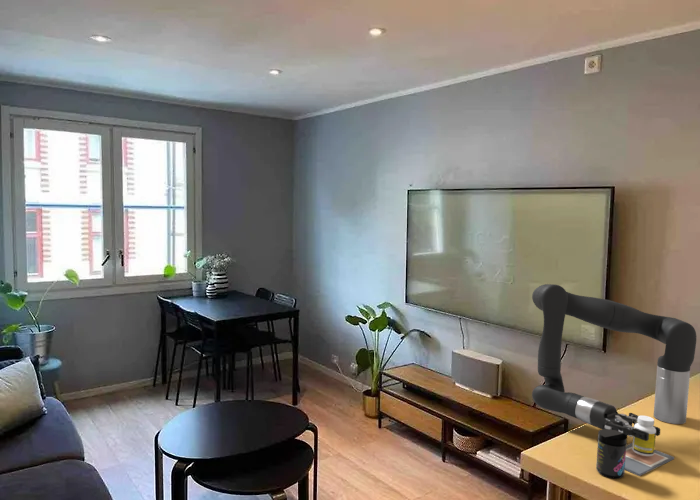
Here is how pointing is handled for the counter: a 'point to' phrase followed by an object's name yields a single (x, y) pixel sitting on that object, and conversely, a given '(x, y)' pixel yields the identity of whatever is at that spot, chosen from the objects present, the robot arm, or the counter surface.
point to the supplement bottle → (640, 445)
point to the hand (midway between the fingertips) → (653, 434)
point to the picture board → (644, 461)
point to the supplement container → (611, 453)
